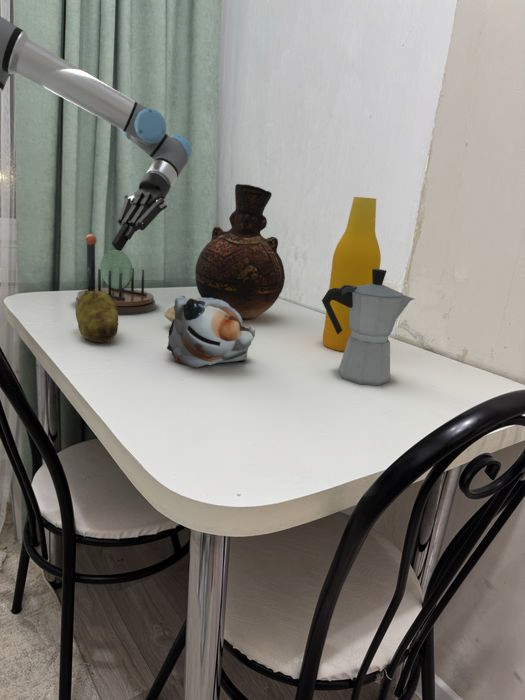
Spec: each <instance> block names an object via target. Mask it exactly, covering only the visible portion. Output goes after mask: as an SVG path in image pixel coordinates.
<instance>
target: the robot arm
mask: <svg viewBox="0 0 525 700" xmlns="http://www.w3.org/2000/svg"><path fill="white" fill-rule="evenodd" d="M16 74H18V75H20V76H22V77H24V78H25V79H27V80H30V81H31V82H33V83H35V84H37V85H38V86H40V87H42V88H44V89H46V90H47V91H50V92H51V93H53V94H55V95H57V96H58V97H61V98H62V99H64V100H66V101H68V102H70V103H71V104H73V105H75V106H77V107H79V108H81V109H83V110H84V111H86V112H88V113H90V114H91V115H93V116H96V118H99V119H101V120H103V121H105V122H106V123H108V124H110V125H111V126H114V127H115V128H118V129H119V131H120V132H121V133H122V134H123V135H124V136H125V137H126V138H127V139H128V140H130V141H131V142H132V143H134V144H135V145H136V146H137V147H138V148H139V149H141V150H142V151H143V152H144V153H145V154H147V155H148V156H149V157H150V158H152V159H153V161H152V163H151V165H150V166H149V168H148V169H147V171H146V172H145V174H144V175H143V177H142V178H141V180H140V181H139V185H138V190H136V191H135V192H134V193H133V195H130V196H129V195H128V194H125V195H124V196H123V203H122V206H121V208H120V212H119V214H118V216H117V218H116V221H117V223H118V225H119V228H118V230H117V231H116V233H115V237H114V238H113V240H112V241H111V245H112V246H113V247H114V250H119V251H121V252H123V251H122V250H123V249H124V248H125V246H126V245H127V242H128V241H129V240H131V239H132V237H133V236H134V234H135V233H136V232H138V231H139V230H140V231H144V230H145V229H146V228H147V227H148V226H149V225H150V224H151V223H152V222H153V221H154V220H155V219H156V218H157V216H159V214H160V213H161V212H162V211H164V210H165V209H167V208H168V205H167V203H166V201H165V199H166V197H167V196H168V194H169V192H170V190H171V189H172V188H173V186H174V184H175V183H176V181H177V179H178V177H179V176H180V174H181V173H182V172H183V170H184V169H185V167H186V166H187V164H188V162H189V159H190V157H191V156H192V152H193V149H192V146H191V143H190V142H189V141H188V139H186V138H185V137H184V136H181V135H179V134H172V135H168V133H166V132H167V122H166V120H165V117H164V116H163V114H162V113H161V112H160V111H158V110H157V109H155V108H150V107H149V108H147V107H146V106H144V105H143V104H140V103H139V102H136V100H134V99H132V98H130V97H129V96H127V95H125V94H123V93H122V92H121V91H119V90H117V89H115V88H113V87H112V86H110V85H109V84H106V83H105V82H103V81H102V80H99V79H98V78H97V77H94V76H93V75H91V74H89V73H87V72H85V71H84V70H82V69H81V68H79V67H77V66H76V65H74V64H72V63H70V62H69V61H66V60H65V59H63V58H62V57H60V56H59V55H57V54H55V53H53V52H52V51H50V50H48V49H46V48H45V47H43V46H41V45H39V44H37V43H36V42H34V41H33V40H31V39H30V38H29V36H28V33H27V31H25V30H23V29H22V28H20V27H18V26H17V25H15V24H14V23H12V22H10V21H9V20H7V19H6V18H5V17H3V16H1V15H0V93H2V92H3V91H4V89H5V86H6V85H7V81H8V79H9V77H11V76H12V75H16Z"/></svg>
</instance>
